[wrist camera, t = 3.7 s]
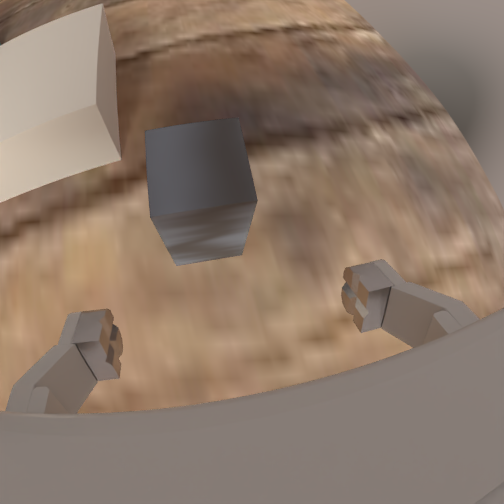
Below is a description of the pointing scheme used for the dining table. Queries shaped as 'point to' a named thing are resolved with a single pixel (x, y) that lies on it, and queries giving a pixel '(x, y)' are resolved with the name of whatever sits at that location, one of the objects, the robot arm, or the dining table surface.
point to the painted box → (57, 102)
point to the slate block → (200, 189)
